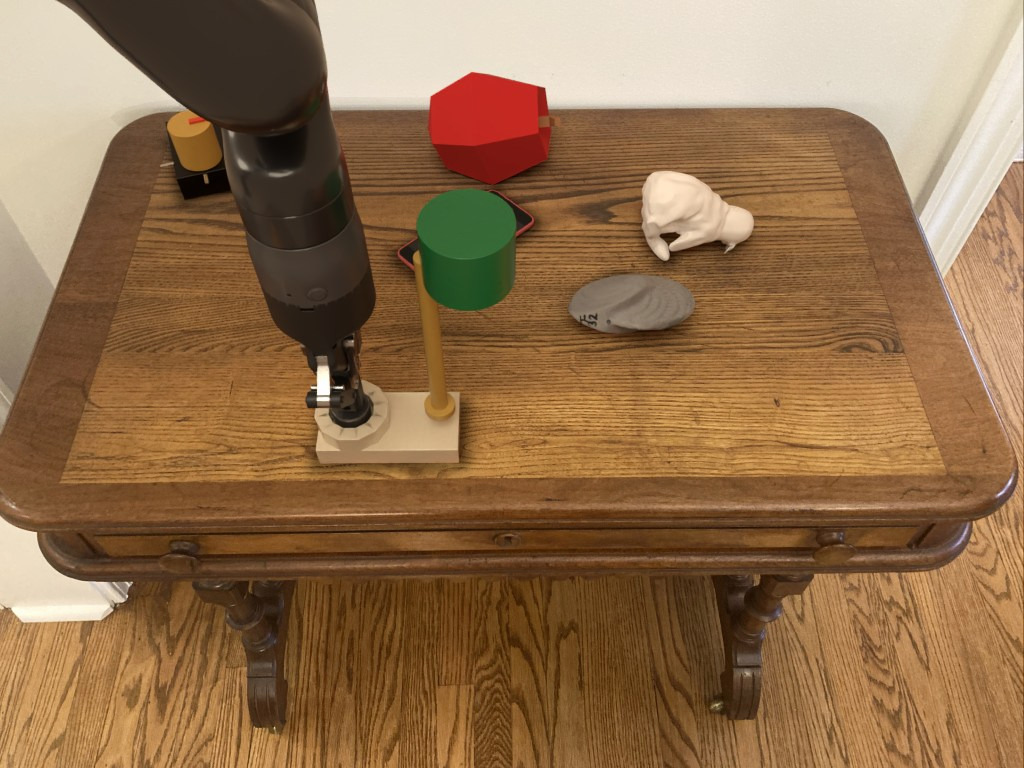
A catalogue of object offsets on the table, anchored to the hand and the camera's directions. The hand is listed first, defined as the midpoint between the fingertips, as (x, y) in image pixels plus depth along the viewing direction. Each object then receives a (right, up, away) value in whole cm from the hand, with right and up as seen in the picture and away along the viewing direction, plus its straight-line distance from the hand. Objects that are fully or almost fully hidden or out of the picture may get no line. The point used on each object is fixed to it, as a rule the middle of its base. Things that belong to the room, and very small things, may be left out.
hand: (350, 403), depth 72 cm
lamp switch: (0, -1, +1) cm, 2 cm away
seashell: (+25, +8, +12) cm, 29 cm away
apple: (+11, +27, +25) cm, 38 cm away
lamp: (+10, 0, +1) cm, 10 cm away
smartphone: (+9, +17, +18) cm, 26 cm away
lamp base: (+3, -3, +4) cm, 6 cm away
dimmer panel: (-19, +26, +24) cm, 40 cm away
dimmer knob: (-20, +26, +20) cm, 38 cm away
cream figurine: (+32, +16, +18) cm, 40 cm away
